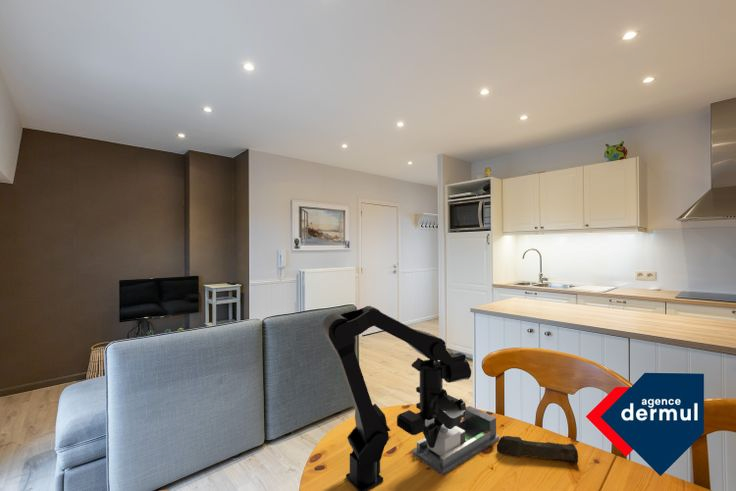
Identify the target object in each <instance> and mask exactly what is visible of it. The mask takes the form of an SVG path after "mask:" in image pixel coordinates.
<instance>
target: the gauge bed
mask: <svg viewBox="0 0 736 491" xmlns="http://www.w3.org/2000/svg"><path fill="white" fill-rule="evenodd" d="M465 413H466V416H465V417H463V418H462V420H461V422H460V425H457V427H459V428H461V429H463V430H465V443H463V444H461V445H459V446H458V447H456V448H454V449H452V450H451V451H449V452H447V453H445V454H444V455H442V456H440V455H438V454H437V453H435V452H433V451H432V450H430V449H429V448H427V441H426V438H425V437H423V438H421V439H419V440H417V441H416V448H415V449H413V450H412V456H414V457H416V458H417V459H418V460H420V461H421V462H423V463H424V464H426V465H427V466H428V467H430V468H431V469H433V470H434V471H436V472H437V473H438V474H440V475H441V476H444V475H445V474H447V473H449V472H450V471H452V470H454V469H455V468H456V467H458V466H460V465H461V464H462V463H464V462H466V461H467V460H469V459H471V458H472V457H474V456H475V455H477V454H479V453H481V452H482V451H484V450H486V448H488V447H489V446H492V445H493V444H495V443H496V442H499V440H500V436H499V435H498V434H497V417H495V416H493V415H491V414H488V413H487V412H484V411H482V410H480V409H477V408H475V407H473V406H471V405H469V406H466V412H465Z"/></svg>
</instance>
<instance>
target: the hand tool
mask: <svg viewBox="0 0 736 491" xmlns="http://www.w3.org/2000/svg"><path fill="white" fill-rule="evenodd" d="M496 453H498V454H501V455H505V456H507V457H515V458H518V459H521V458H522V457H532V458H533V457H534V458H545V459H551V460H561V461H570V462H574V464H575V463H576V464H575V465H577V464H578V463H579V452H578V449H577V448H576V446H575V444H573V443H568V444H567V443H566V444H565V443H564V444H563V443H557V442H556V443H555V442H550V441H549V442H548V441H546V442H543V441H541V442H540V441H531V440H530V441H529V440H523V439H522V438H521V437H520V436H511V435H503V436H501V437H499V440H498V441H497V444H496Z"/></svg>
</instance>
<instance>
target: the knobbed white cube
mask: <svg viewBox="0 0 736 491" xmlns="http://www.w3.org/2000/svg"><path fill="white" fill-rule="evenodd" d="M459 445H460V431H459V430H457V429H455V428H452V429H448V428H446V427H445V426H444V425H442V426H441V428H440V431H439V434H438V437H437V440H436V443H435V446H434V448H431V447H429V445H428V443H427V448H429V449H430V450H432V451H433V452H435V453H437V454H438V455H440V456H442V455H444V454H445V453H447V452H449V451H451V450H452V449H454V448H456V447H458V446H459Z"/></svg>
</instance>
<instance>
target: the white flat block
mask: <svg viewBox="0 0 736 491" xmlns="http://www.w3.org/2000/svg"><path fill="white" fill-rule="evenodd" d="M453 428H455V429H457V430H459V431H460V445H461V444H463V443H465V430H463V429H461V428H459V427H457V426H455V427H453Z"/></svg>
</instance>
